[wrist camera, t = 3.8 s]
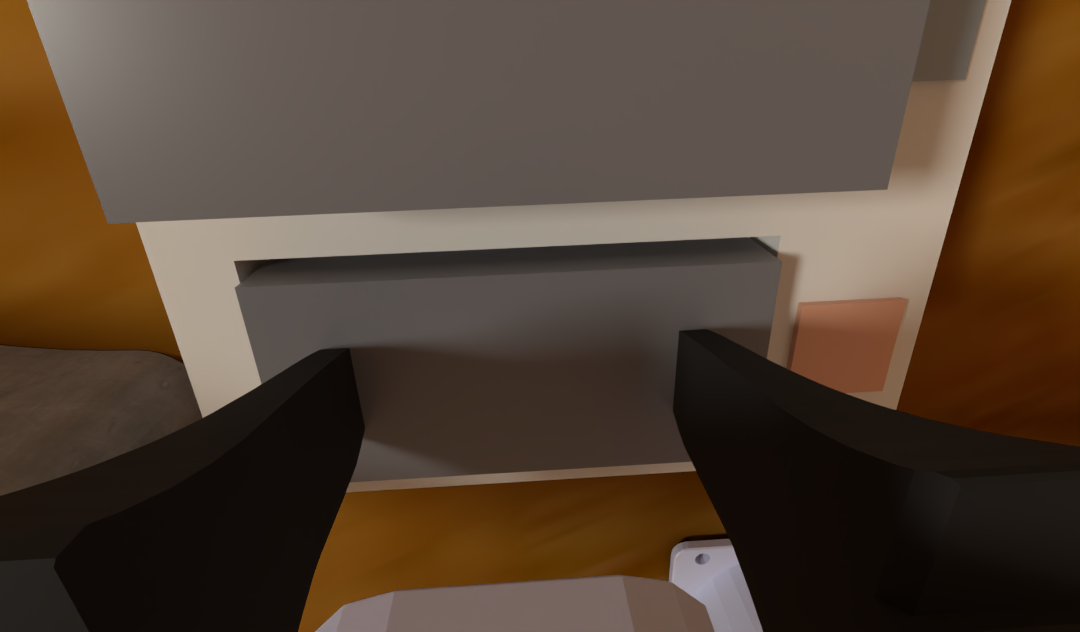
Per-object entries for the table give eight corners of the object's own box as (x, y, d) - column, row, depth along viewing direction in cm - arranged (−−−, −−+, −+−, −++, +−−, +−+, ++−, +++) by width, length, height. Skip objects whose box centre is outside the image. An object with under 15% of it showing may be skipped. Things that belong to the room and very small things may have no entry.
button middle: (871, -192, 8) (993, -279, 6) (810, 164, 10) (887, 189, 8) (84, -177, 8) (-70, -265, 6) (191, 190, 10) (108, 223, 8)
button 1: (740, 232, 13) (782, 261, 11) (719, 406, 15) (751, 458, 13) (277, 253, 13) (234, 287, 11) (319, 429, 15) (290, 485, 13)
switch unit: (1064, -735, 9) (1347, -1142, 6) (823, 397, 17) (887, 464, 14) (-54, -755, 8) (-374, -1221, 5) (275, 428, 17) (227, 505, 14)
